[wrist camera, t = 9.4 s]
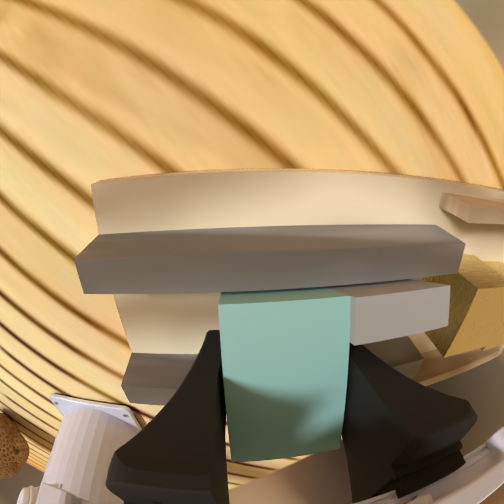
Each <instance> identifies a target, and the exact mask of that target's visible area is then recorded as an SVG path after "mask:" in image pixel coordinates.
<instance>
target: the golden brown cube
mask: <svg viewBox="0 0 504 504" xmlns="http://www.w3.org/2000/svg"><path fill="white" fill-rule="evenodd" d="M422 281H424V282H431V283H439V284H446V285H450V305H449V319H448V326H446V327H442V328H438V329H434V330H430V331H426V332H424V333H425V334H426V335H427V336H428V338H429V339H430V340H431V342H432V343H433V344H434V346H435V347H436V348H437V350H438V351H439V352H440V354H441V355H442V356H443V358H445V357H449V356H453V355H457V354H461V353H464V352H468V351H472V350H475V349H479V348H482V347H485V346H486V345H487V343H488V341H489V340H490V338H491V336H492V334H493V332H494V330H495V329H496V327H497V325H498V323H499V321H500V319H501V317H502V315H503V313H504V277H503V276H502V275H500V274H499V273H498V272H496V271H495V270H494V269H493V268H491V267H490V266H489V265H487V264H486V263H484V262H483V261H482V260H480V259H479V258H478V257H476V256H475V255H472V254H463V256H462V260H461V263H460V267H459V270H458V273H455V274H448V275H439V276H431V277H423V279H422Z"/></svg>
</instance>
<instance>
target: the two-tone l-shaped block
mask: <svg viewBox="0 0 504 504" xmlns="http://www.w3.org/2000/svg"><path fill="white" fill-rule="evenodd" d="M449 305H450V285H446V284H439V283H431V282H424V281H417V280H410V279H404V280H394V281H384V282H373V283H362V284H350V285H338V286H325V287H311V288H295V289H279V290H260V291H239V292H221V296H220V299H219V303H218V312H219V328H220V342H221V356H222V369H223V381H224V392H225V403H226V414H227V424H228V433H229V442H230V451H231V460H232V462H247V461H261V460H272V459H281V458H289V457H296V456H303V455H309V454H315V453H320V452H326V451H331V450H335V449H339V448H340V442H341V434H342V427H343V419H344V410H345V400H346V389H347V377H348V362H349V342H350V343H352V344H353V345H354V346H355V345H361V344H367V343H373V342H378V341H384V340H389V339H394V338H399V337H403V336H408V335H413V334H417V333H421V332H426V331H430V330H434V329H438V328H442V327H446V326H448V319H449Z"/></svg>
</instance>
